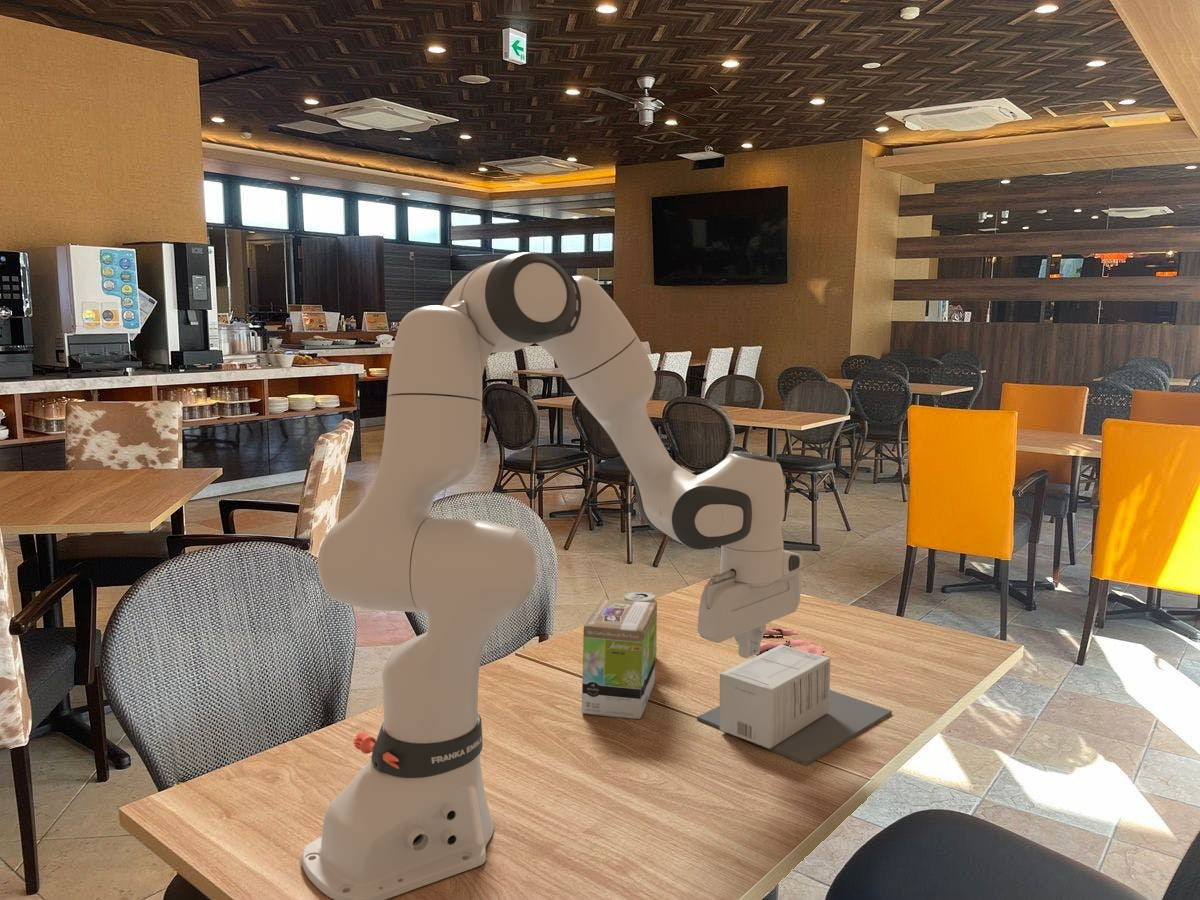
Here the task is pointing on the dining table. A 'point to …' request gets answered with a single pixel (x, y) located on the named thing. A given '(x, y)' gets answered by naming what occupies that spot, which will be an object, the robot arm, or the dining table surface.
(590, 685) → the tea box
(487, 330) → the robot arm
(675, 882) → the dining table surface
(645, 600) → the beverage can
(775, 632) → the cloth
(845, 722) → the mat
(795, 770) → the dining table surface
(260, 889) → the dining table surface
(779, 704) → the supplement box
